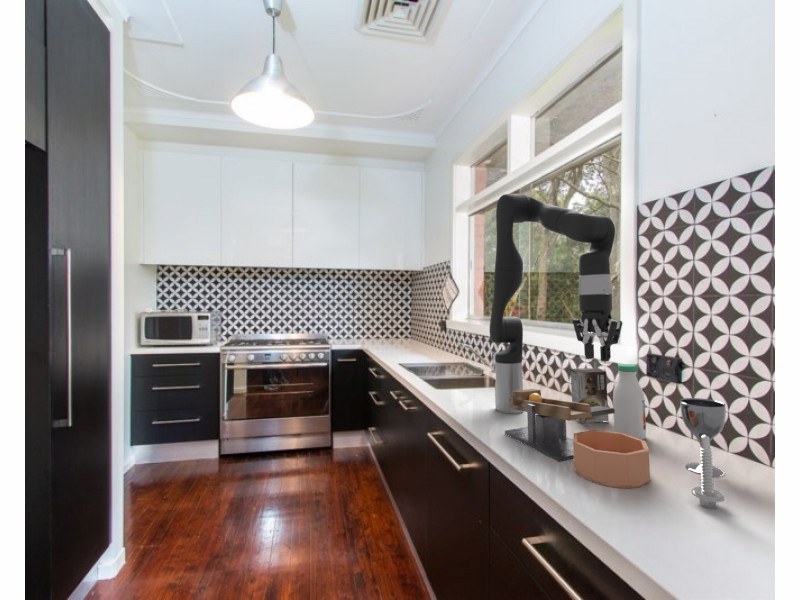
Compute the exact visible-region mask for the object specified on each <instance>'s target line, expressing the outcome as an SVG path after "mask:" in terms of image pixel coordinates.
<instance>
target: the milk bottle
mask: <svg viewBox="0 0 800 600" xmlns="http://www.w3.org/2000/svg"><path fill="white" fill-rule="evenodd" d="M617 370H618V379H617V382H616V384H615V386H614V388H613V392H612V393H613V394H612V404H613V405H612V408H614V410H615V413H613V414H612V415H613V432H619V433H624V434H626V435H629V436H632V437H635V438H638V439H641V440H644V441H645V439H646V438H647V424H646V423H647V422H646V401H645V394H644V391H643V388H642V387H641V384H640V383H639V380H638V378H637V374H638V367H637V365H636V364H630V363H620V364H618V365H617Z"/></svg>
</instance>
